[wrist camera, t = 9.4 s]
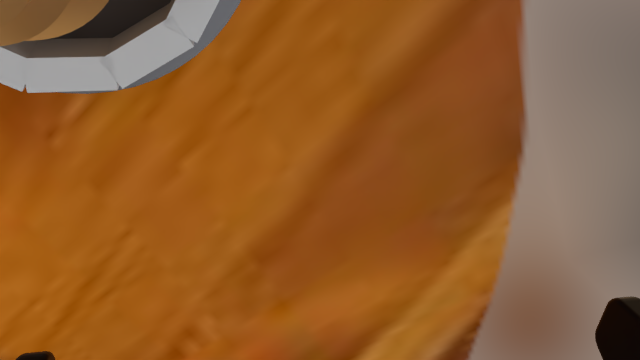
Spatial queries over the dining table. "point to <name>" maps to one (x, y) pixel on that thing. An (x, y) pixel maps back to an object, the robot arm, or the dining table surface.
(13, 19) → the beige tiered cylinder
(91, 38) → the grey shallow dish
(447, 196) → the dining table surface
